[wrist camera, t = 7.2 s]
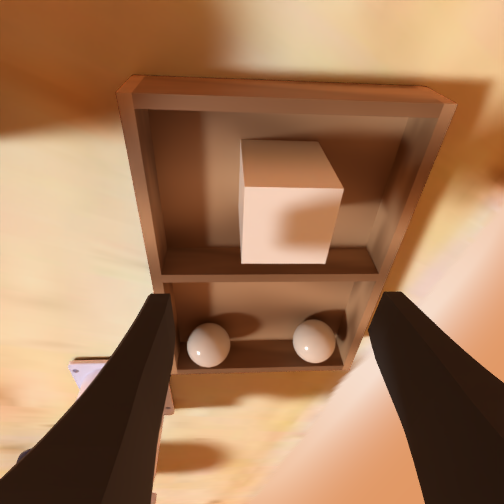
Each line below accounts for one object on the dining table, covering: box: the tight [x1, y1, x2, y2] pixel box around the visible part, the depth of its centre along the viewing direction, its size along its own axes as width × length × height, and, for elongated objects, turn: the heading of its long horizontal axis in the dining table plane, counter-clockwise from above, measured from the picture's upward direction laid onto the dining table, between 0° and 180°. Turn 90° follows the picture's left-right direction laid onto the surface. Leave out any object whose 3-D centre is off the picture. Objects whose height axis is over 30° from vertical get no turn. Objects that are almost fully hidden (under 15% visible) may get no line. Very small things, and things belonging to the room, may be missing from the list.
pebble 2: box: [293, 319, 336, 363], centre depth 26 cm, size 3×3×3 cm
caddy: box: [116, 75, 458, 374], centre depth 21 cm, size 20×14×3 cm
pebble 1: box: [187, 323, 230, 367], centre depth 25 cm, size 3×3×3 cm
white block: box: [238, 139, 344, 264], centre depth 17 cm, size 4×4×5 cm
